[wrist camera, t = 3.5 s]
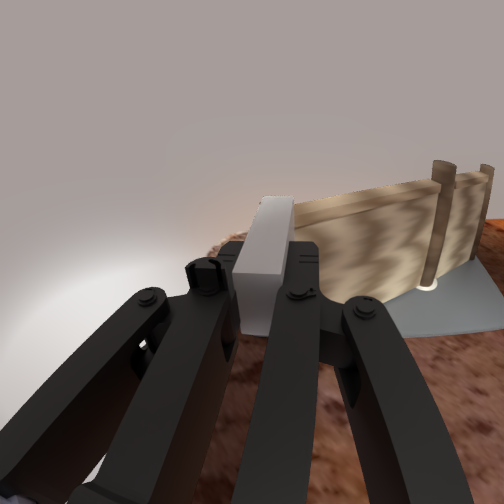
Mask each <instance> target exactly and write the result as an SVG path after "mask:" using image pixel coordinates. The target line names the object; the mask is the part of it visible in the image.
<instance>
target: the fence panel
mask: <svg viewBox="0 0 504 504" xmlns="http://www.w3.org/2000/svg"><path fill="white" fill-rule="evenodd" d="M440 191H441V184H439V183H437V182H435V181H432V180H430V179H425V180H418V181H413V182H407V183H401V184H396V185H390V186H385V187H380V188H374V189H369V190H364V191H359V192H354V193H348V194H343V195H338V196H333V197H329V198H323V199H319V200H314V201H309V202H305V203H300V204H295V205H294V229H295V241H313V242H314V243H315V244H316V245H317V247H318V248H319V287H320V291H321V292H322V294H323V295H324V296H325V297H327V298H328V299H330V300H332V301H335V302H338V303H342V304H345V302H346V301H347V300H348V299H350V298H352V297H355V296H370V297H374V298H376V299H377V300H379V301H381V302H382V303H384V302H386V301H389V300H391V299H393V298H395V297H397V296H399V295H401V294H403V293H405V292H407V291H409V290H411V289H413V288H415V287H417V286H419V285H420V281H421V277H422V273H423V270H424V266H425V262H426V257H427V253H428V249H429V244H430V239H431V234H432V229H433V224H434V218H435V213H436V206H437V200H438V193H440ZM260 203H261V202H260Z"/></svg>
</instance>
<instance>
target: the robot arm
mask: <svg viewBox="0 0 504 504" xmlns="http://www.w3.org/2000/svg"><path fill="white" fill-rule="evenodd" d="M185 270H186V274H187V278H188V282H189V286H190V289H189V291H188V293H187V294H185V295H180V296H174V297H167V296H166V293H165V291H164V290H163V289H161V288H158V287H149V288H145V289H142V290H140V291H138V292H137V293H135V294H134V295H133V296H132V297H131V298H130V299H128V300H127V301H126V302H125V303H124V304H123V305H122V306H121V307H120V308H119V309H118V310H117V311H116V312H115V313H114V314H113V315H111V316H110V317H109V318H108V319H107V320H106V321H105V322H104V323H103V324H102V325H101V326H100V327H99V328H98V329H97V330H96V331H95V332H94V333H93V334H92V335H91V336H90V337H89V338H88V339H87V340H86V341H85V342H84V343H83V344H82V345H81V346H80V347H79V348H78V349H77V350H76V351H75V352H74V353H73V354H72V355H71V356H70V357H69V358H68V359H67V360H66V361H65V362H64V363H63V364H62V365H61V366H60V367H59V368H58V369H57V370H56V371H55V372H54V373H53V374H52V375H51V376H50V377H49V378H48V380H46V381H45V382H44V383H43V385H42V386H41V387H40V388H39V389H38V390H37V391H36V392H35V393H34V394H33V395H32V396H31V397H30V398H29V400H28V401H27V402H26V403H25V404H24V405H23V406H22V407H21V408H20V410H18V412H17V413H16V414H15V415H14V416H13V417H12V419H10V421H9V422H8V423H7V424H6V425H5V426H4V427H3V429H2V430H1V431H0V504H65V503H66V502H67V501H68V502H67V504H191V503H192V499H193V496H194V493H195V490H196V486H197V483H198V480H199V477H200V473H201V470H202V467H203V463H204V460H205V457H206V453H207V450H208V447H209V443H210V440H211V437H212V433H213V430H214V427H215V423H216V420H217V417H218V413H219V410H220V406H221V403H222V400H223V396H224V393H225V389H226V386H227V382H228V379H229V376H230V372H231V369H232V365H233V362H234V358H235V355H236V351H237V348H238V335H237V332H238V329H239V326H240V328H241V334H250V335H264V336H269V337H268V342H267V347H266V352H265V356H264V361H263V366H262V371H261V376H260V380H259V385H258V390H257V394H256V399H255V403H254V408H253V412H252V417H251V421H250V426H249V430H248V434H247V439H246V443H245V447H244V451H243V455H242V460H241V464H240V468H239V472H238V476H237V480H236V484H235V488H234V492H233V496H232V500H231V503H230V504H306V498H307V491H308V483H309V476H310V467H311V459H312V449H313V439H314V428H315V416H316V402H317V386H318V367H319V362H322V363H325V364H328V365H332V366H334V371H335V375H336V378H337V381H338V385H339V388H340V391H341V395H342V398H343V402H344V405H345V409H346V412H347V416H348V419H349V423H350V427H351V430H352V434H353V438H354V441H355V445H356V449H357V453H358V457H359V461H360V465H361V468H362V472H363V477H364V481H365V485H366V489H367V493H368V497H369V502H370V504H474V501H473V498H472V495H471V491H470V488H469V485H468V482H467V480H466V477H465V474H464V471H463V468H462V466H461V463H460V460H459V457H458V455H457V452H456V450H455V447H454V445H453V442H452V440H451V437H450V435H449V432H448V430H447V428H446V425H445V423H444V421H443V418H442V416H441V414H440V412H439V409H438V407H437V405H436V403H435V401H434V399H433V396H432V394H431V392H430V390H429V388H428V386H427V384H426V382H425V380H424V378H423V376H422V374H421V372H420V370H419V368H418V366H417V364H416V362H415V360H414V358H413V356H412V354H411V352H410V350H409V348H408V347H407V345H406V343H405V341H404V339H403V337H402V335H401V334H400V332H399V330H398V328H397V326H396V325H395V323H394V321H393V319H392V317H391V316H390V314H389V312H388V310H387V309H386V307H385V306H384V305H383V303H382V302H381V301H379V300H377V299H376V298H374V297H370V296H355V297H352V298H350V299H348V300H347V301H346V302H345V304H342V303H338V302H335V301H332V300H330V299H328V298H327V297H325V296H324V295H323V294H322V292H321V291H320V287H319V248H318V247H317V245H316V244H315V243H314V242H313V241H295V229H294V197H293V196H263V199H262V201H261V203H260V206H259V208H258V210H257V213H256V215H255V218H254V220H253V223H252V225H251V227H250V230H249V232H248V235H247V237H246V239H245V241H229V242H228V243H226V244H225V245H224V246H222V247H221V249H220V251H219V253H218V256H217V257H203V258H199V259H196V260H194V261H192V262H190V263H189V264H188V265H187V266H186V267H185ZM143 340H145V342H146V345H145V346H143V347H142V348H140V346H139V344H140V343H141V342H142V341H143ZM106 453H107V454H106ZM105 454H106V456H105V458H104V461H103V462H102V465H101V467H100V469H99V471H98V473H97V475H96V477H95V479H93V480H92V481H91V482H87V483H84V484H82V483H83V482H84V480H85V479H86V478H87V476H88V475H89V474H90V473H91V472H92V470H93V469H94V468H95V466H96V465H97V464H98V463H99V461H100V460H101V459H102V457H103V456H104V455H105Z"/></svg>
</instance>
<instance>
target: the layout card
mask: <svg viewBox="0 0 504 504" xmlns="http://www.w3.org/2000/svg"><path fill="white" fill-rule="evenodd" d="M383 305H384V306H385V307H386V309H387V310H388V312H389V314H390V316H391V317H392V319H393V321H394V323H395V325H396V326H397V328H398V330H399V332H400V334H401V335H402V337H403V338H416V337H432V336H445V335H457V334H467V333H476V332H485V331H493V330H500V329H504V297H503V295H502V294H501V292H500V290H499V289H498V287H497V286H496V284H495V283H494V281H493V280H492V278H491V277H490V275H489V274H488V272H487V271H486V269H485V268H484V266H483V265H482V263H481V262H480V261H479V259H478V258H477V256H475V259H474V260H468V261H467V262H465V263H463V264H461V265H460V266H458V267H456V268H454V269H453V270H451V271H449V272H447V273H446V274H444V275H442V276H440V277H438V278H436V279H434V281H433V284H432V285H431V286H429V287H422V286H417V287H415V288H413V289H411V290H409V291H407V292H405V293H403V294H401V295H399V296H397V297H395V298H393V299H391V300H389V301H386V302H384V303H383ZM254 336H260V337H269V336H264V335H254Z"/></svg>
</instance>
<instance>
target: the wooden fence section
mask: <svg viewBox="0 0 504 504" xmlns="http://www.w3.org/2000/svg"><path fill="white" fill-rule="evenodd" d="M456 168H457V166H456V165H455V164H452V163H450V162H446V161H441V160H434V161H433V168H432V178H431V180H432V181H435V182H437V183H439V184H441V191H440V193H438V200H437V206H436V213H435V218H434V224H433V229H432V234H431V239H430V244H429V249H428V253H427V257H426V262H425V266H424V270H423V273H422V277H421V281H420V285H419V286H422V287H429V286H431V285H432V284H433V281H434V279H436V278H438V277H440V276H442V275H444V274H446V273H447V272H449V271H451V270H453V269H454V268H456V267H458V266H460V265H461V264H463V263H465V262H467V261H468V260H474V259H475V256H476V253H477V249H478V246H479V242H480V238H481V235H482V231H483V227H484V223H485V218H486V214H487V209H488V204H489V199H490V194H491V188H492V182H493V176H494V168H493V167H492V166H489V165H486V164H481V167H480V171H475V172H469V173H462V174H456Z"/></svg>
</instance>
